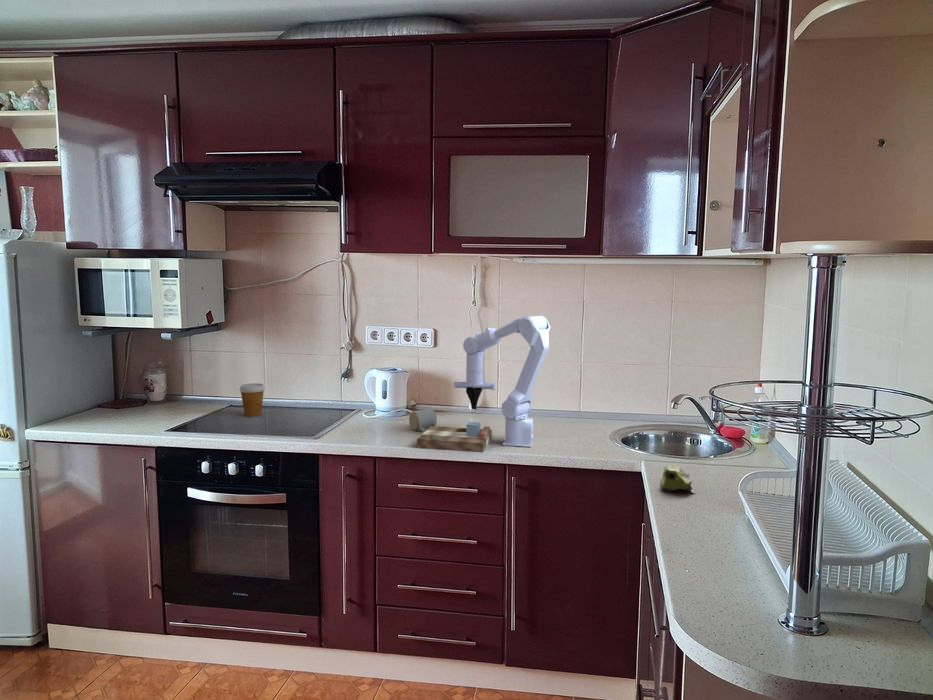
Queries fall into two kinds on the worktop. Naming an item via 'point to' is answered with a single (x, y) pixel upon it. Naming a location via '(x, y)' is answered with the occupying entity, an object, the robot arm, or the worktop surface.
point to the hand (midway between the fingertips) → (474, 408)
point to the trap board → (454, 439)
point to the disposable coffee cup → (252, 398)
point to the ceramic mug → (422, 419)
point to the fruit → (675, 479)
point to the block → (473, 429)
